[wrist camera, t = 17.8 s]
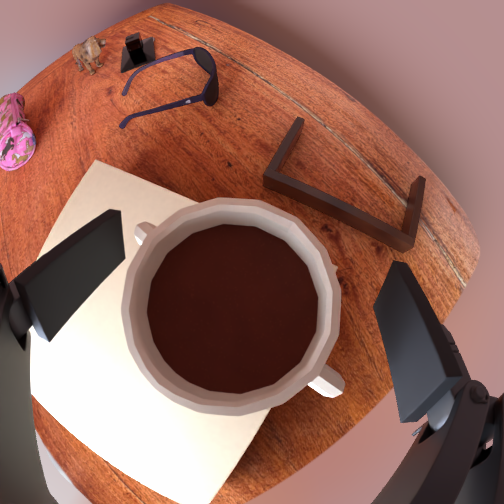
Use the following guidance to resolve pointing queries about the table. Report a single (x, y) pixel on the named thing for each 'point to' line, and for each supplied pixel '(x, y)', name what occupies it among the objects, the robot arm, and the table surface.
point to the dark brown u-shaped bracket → (340, 208)
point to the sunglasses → (207, 96)
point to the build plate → (137, 52)
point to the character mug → (232, 307)
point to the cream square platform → (129, 364)
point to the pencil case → (14, 133)
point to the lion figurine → (88, 53)
